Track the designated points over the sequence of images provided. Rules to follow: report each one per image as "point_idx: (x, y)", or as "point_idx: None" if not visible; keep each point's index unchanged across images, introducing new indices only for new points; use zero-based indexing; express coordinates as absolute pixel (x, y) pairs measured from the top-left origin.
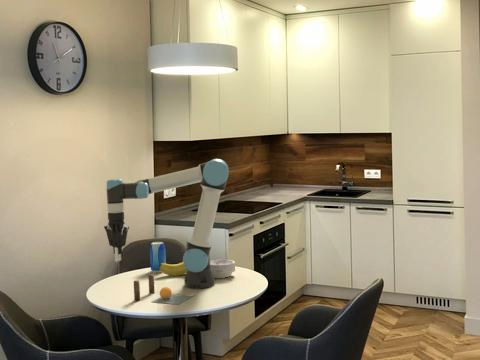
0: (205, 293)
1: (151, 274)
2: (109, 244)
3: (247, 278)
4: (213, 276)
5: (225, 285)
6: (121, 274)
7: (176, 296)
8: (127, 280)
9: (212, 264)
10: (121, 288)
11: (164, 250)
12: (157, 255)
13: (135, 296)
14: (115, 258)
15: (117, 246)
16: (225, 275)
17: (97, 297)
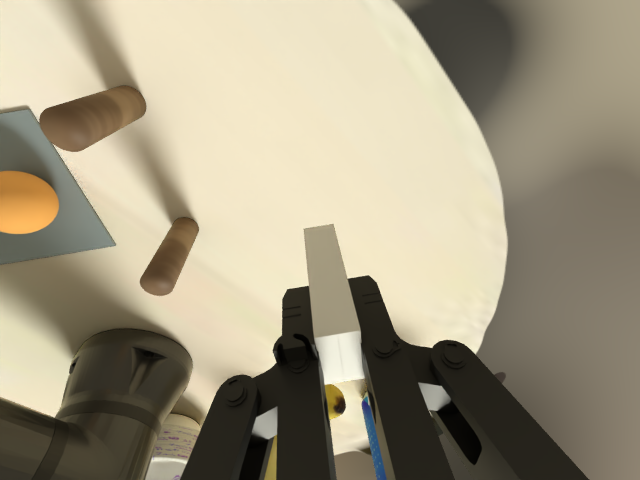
0: (3, 311)
1: (161, 289)
2: (476, 357)
3: None
4: (168, 417)
5: (62, 387)
6: (480, 338)
7: (34, 233)
8: (416, 304)
9: None
10: (367, 224)
11: (376, 476)
12: None
13: (109, 89)
14: (333, 240)
15: (314, 360)
16: None
17: (377, 42)
